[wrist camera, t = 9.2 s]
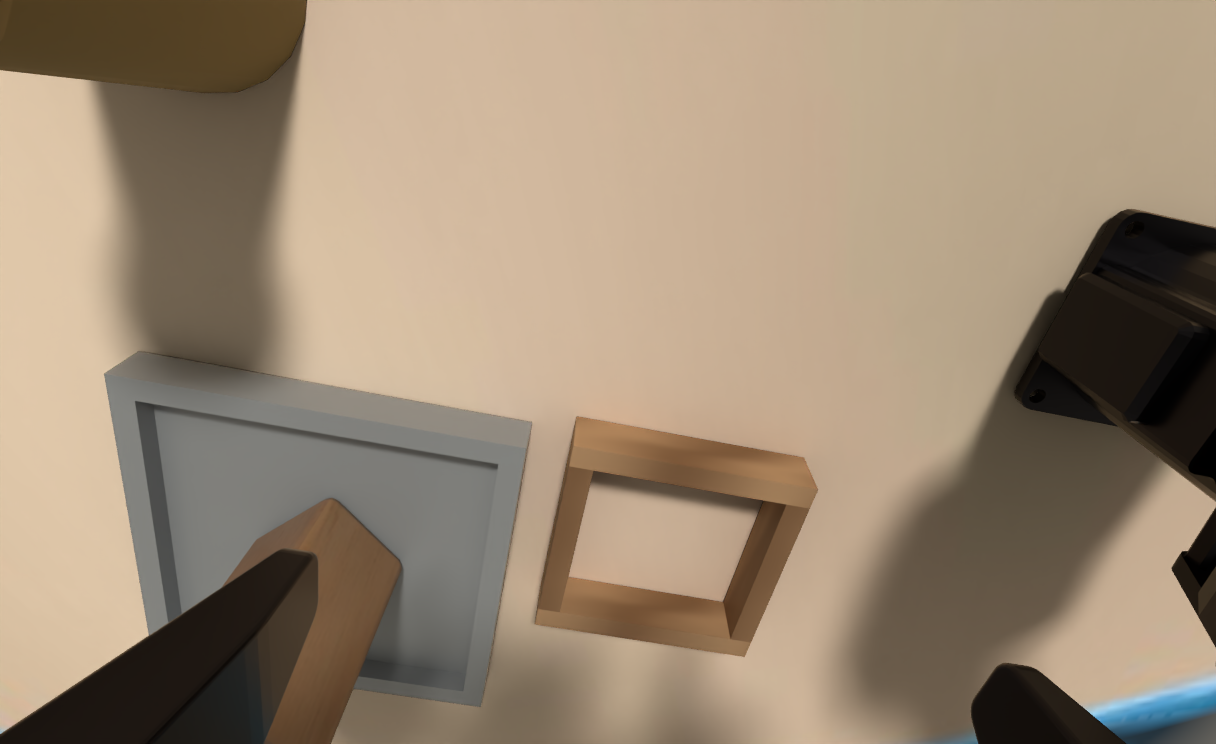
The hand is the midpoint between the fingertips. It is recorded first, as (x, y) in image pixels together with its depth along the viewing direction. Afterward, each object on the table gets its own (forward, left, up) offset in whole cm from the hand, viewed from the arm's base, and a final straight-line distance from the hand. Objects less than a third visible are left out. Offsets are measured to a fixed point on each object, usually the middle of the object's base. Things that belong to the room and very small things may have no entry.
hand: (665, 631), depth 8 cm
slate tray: (+9, +12, -13) cm, 20 cm away
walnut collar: (-3, +9, -13) cm, 16 cm away
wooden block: (+9, +12, -12) cm, 19 cm away
